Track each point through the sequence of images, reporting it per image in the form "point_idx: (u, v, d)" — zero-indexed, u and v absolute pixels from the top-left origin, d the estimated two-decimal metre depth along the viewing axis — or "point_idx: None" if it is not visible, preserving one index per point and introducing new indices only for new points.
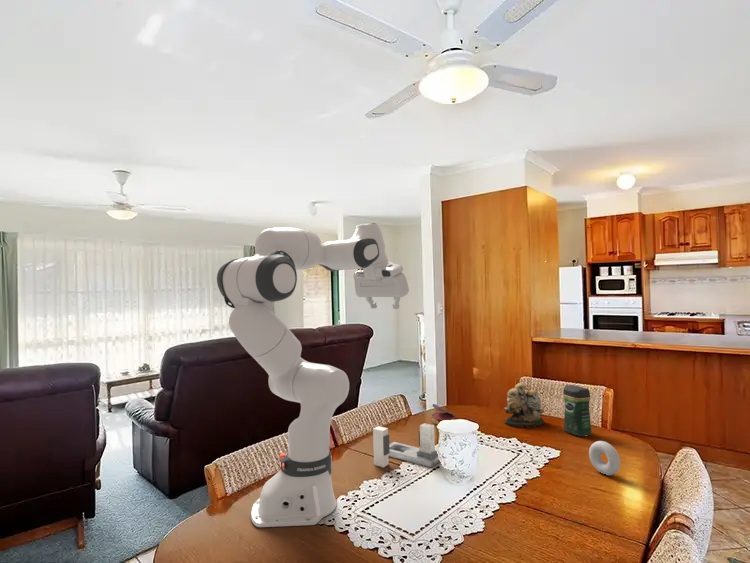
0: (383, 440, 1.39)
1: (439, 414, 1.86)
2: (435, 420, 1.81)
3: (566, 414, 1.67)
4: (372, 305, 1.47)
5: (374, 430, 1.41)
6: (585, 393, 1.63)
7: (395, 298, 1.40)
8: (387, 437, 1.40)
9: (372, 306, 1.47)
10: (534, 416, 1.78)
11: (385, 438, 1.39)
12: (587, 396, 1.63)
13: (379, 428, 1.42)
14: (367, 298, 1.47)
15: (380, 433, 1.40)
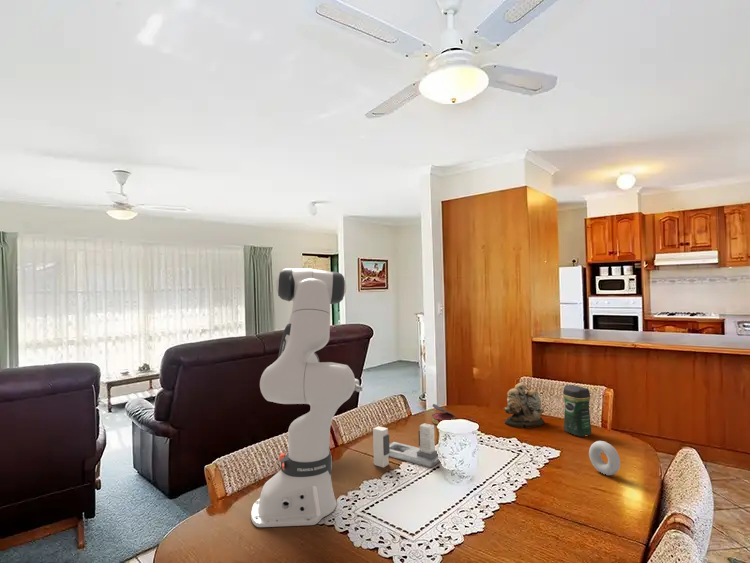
0: (383, 440, 1.39)
1: (439, 414, 1.86)
2: (435, 420, 1.81)
3: (566, 414, 1.67)
4: None
5: (374, 430, 1.41)
6: (585, 393, 1.63)
7: (354, 384, 1.56)
8: (387, 437, 1.40)
9: None
10: (534, 416, 1.78)
11: (385, 438, 1.39)
12: (587, 396, 1.63)
13: (379, 428, 1.41)
14: None
15: (380, 433, 1.40)
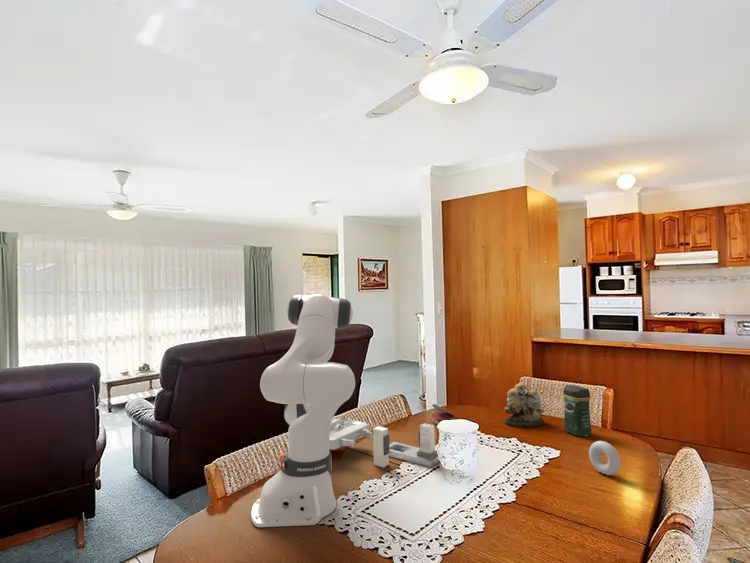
0: (383, 440, 1.39)
1: (439, 414, 1.86)
2: (435, 420, 1.81)
3: (566, 414, 1.67)
4: (351, 439, 1.43)
5: (374, 430, 1.41)
6: (585, 393, 1.63)
7: (364, 429, 1.53)
8: (387, 437, 1.40)
9: (352, 440, 1.43)
10: (534, 416, 1.78)
11: (385, 438, 1.39)
12: (587, 396, 1.63)
13: (379, 428, 1.42)
14: (343, 439, 1.43)
15: (380, 433, 1.40)
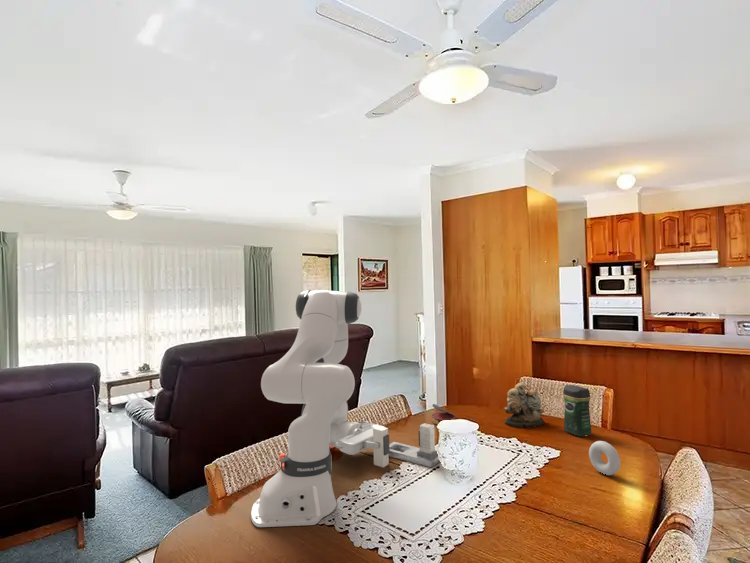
0: (383, 440, 1.39)
1: (439, 414, 1.86)
2: (435, 420, 1.81)
3: (566, 414, 1.67)
4: (376, 442, 1.40)
5: (374, 430, 1.41)
6: (585, 393, 1.63)
7: None
8: (387, 437, 1.40)
9: (376, 442, 1.40)
10: (534, 416, 1.78)
11: (385, 438, 1.39)
12: (587, 396, 1.63)
13: (379, 428, 1.41)
14: (367, 441, 1.41)
15: (380, 433, 1.40)
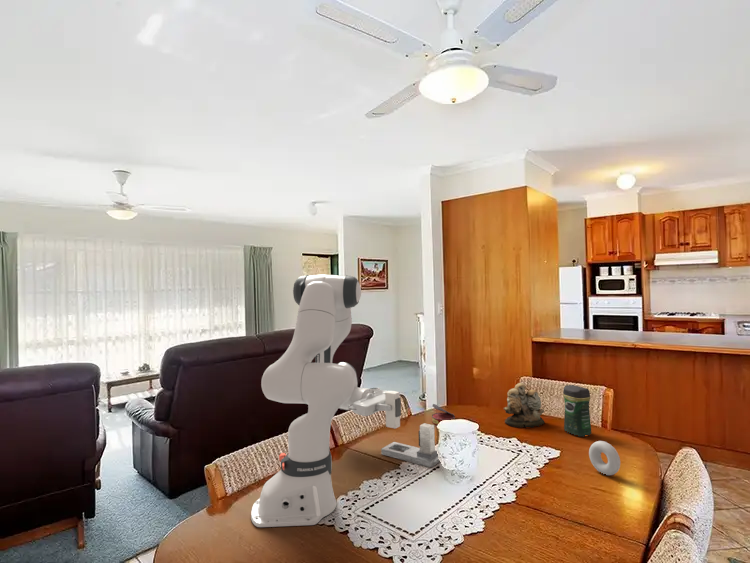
0: (395, 403, 1.46)
1: (439, 414, 1.86)
2: (435, 420, 1.81)
3: (566, 414, 1.67)
4: None
5: (386, 394, 1.48)
6: (585, 393, 1.63)
7: None
8: (399, 400, 1.47)
9: (389, 405, 1.47)
10: (534, 416, 1.78)
11: (397, 401, 1.46)
12: (587, 396, 1.63)
13: (391, 392, 1.48)
14: (379, 404, 1.48)
15: (392, 396, 1.47)
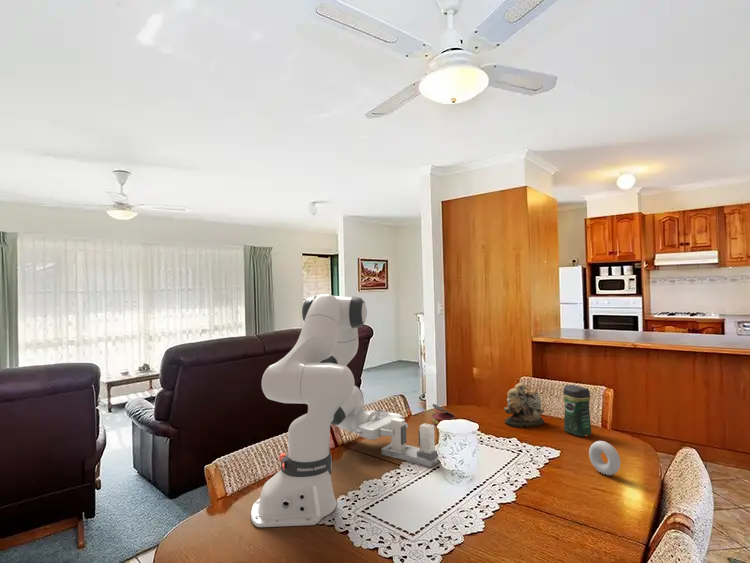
0: (401, 430, 1.48)
1: (439, 414, 1.87)
2: (435, 420, 1.81)
3: (566, 414, 1.67)
4: (390, 429, 1.47)
5: (392, 421, 1.50)
6: (585, 393, 1.63)
7: None
8: (404, 428, 1.49)
9: (391, 430, 1.47)
10: (534, 416, 1.78)
11: (402, 428, 1.48)
12: (587, 396, 1.63)
13: (397, 419, 1.51)
14: (382, 429, 1.48)
15: (398, 424, 1.49)
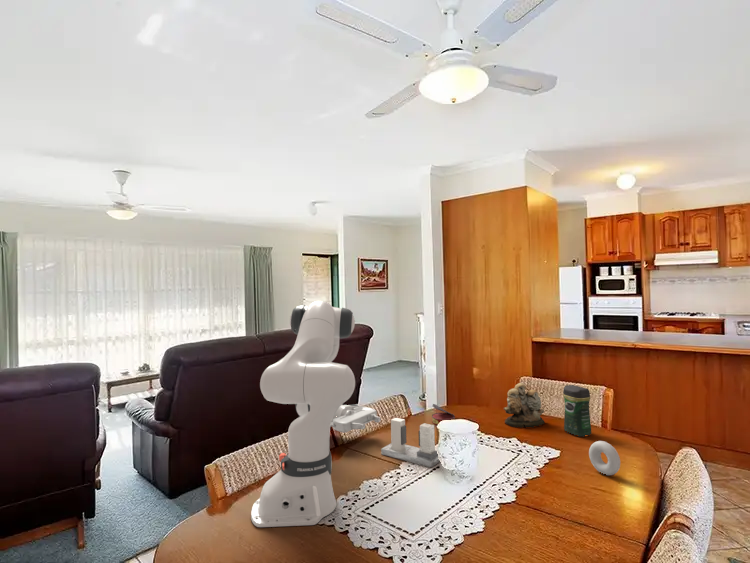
0: (400, 430, 1.48)
1: (439, 414, 1.87)
2: (435, 420, 1.81)
3: (566, 414, 1.67)
4: (361, 423, 1.55)
5: (392, 421, 1.50)
6: (585, 393, 1.63)
7: (372, 414, 1.65)
8: (404, 428, 1.49)
9: (362, 423, 1.55)
10: (534, 416, 1.78)
11: (402, 428, 1.48)
12: (587, 396, 1.63)
13: (396, 419, 1.50)
14: (353, 422, 1.55)
15: (398, 424, 1.49)
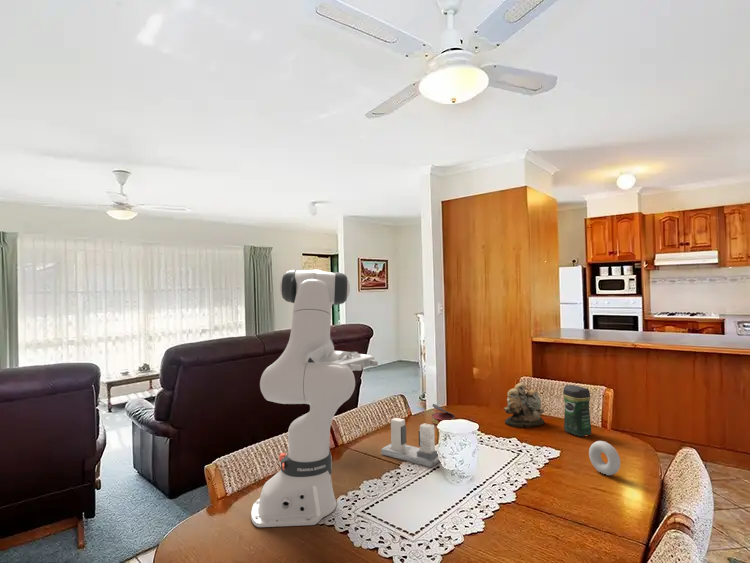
0: (400, 430, 1.48)
1: (439, 414, 1.87)
2: (435, 420, 1.81)
3: (566, 414, 1.67)
4: (359, 365, 1.55)
5: (392, 421, 1.50)
6: (585, 393, 1.63)
7: (370, 359, 1.65)
8: (404, 428, 1.49)
9: (359, 365, 1.55)
10: (534, 416, 1.78)
11: (402, 428, 1.48)
12: (587, 396, 1.63)
13: (396, 419, 1.51)
14: (351, 364, 1.56)
15: (398, 424, 1.49)
